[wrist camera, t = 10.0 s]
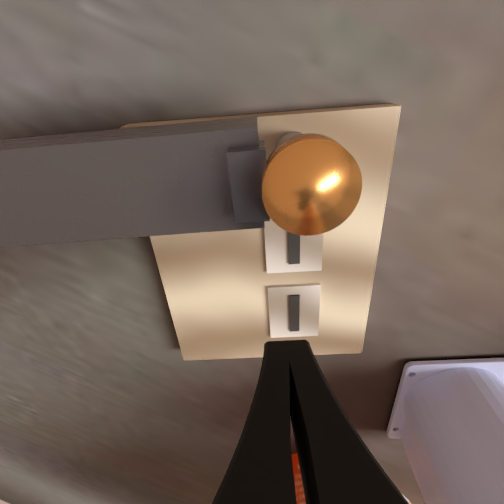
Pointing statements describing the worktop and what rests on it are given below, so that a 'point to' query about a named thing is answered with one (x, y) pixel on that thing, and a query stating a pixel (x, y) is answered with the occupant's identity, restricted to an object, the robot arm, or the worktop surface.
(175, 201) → the swing bar
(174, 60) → the worktop surface
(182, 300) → the tan piece
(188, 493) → the worktop surface
